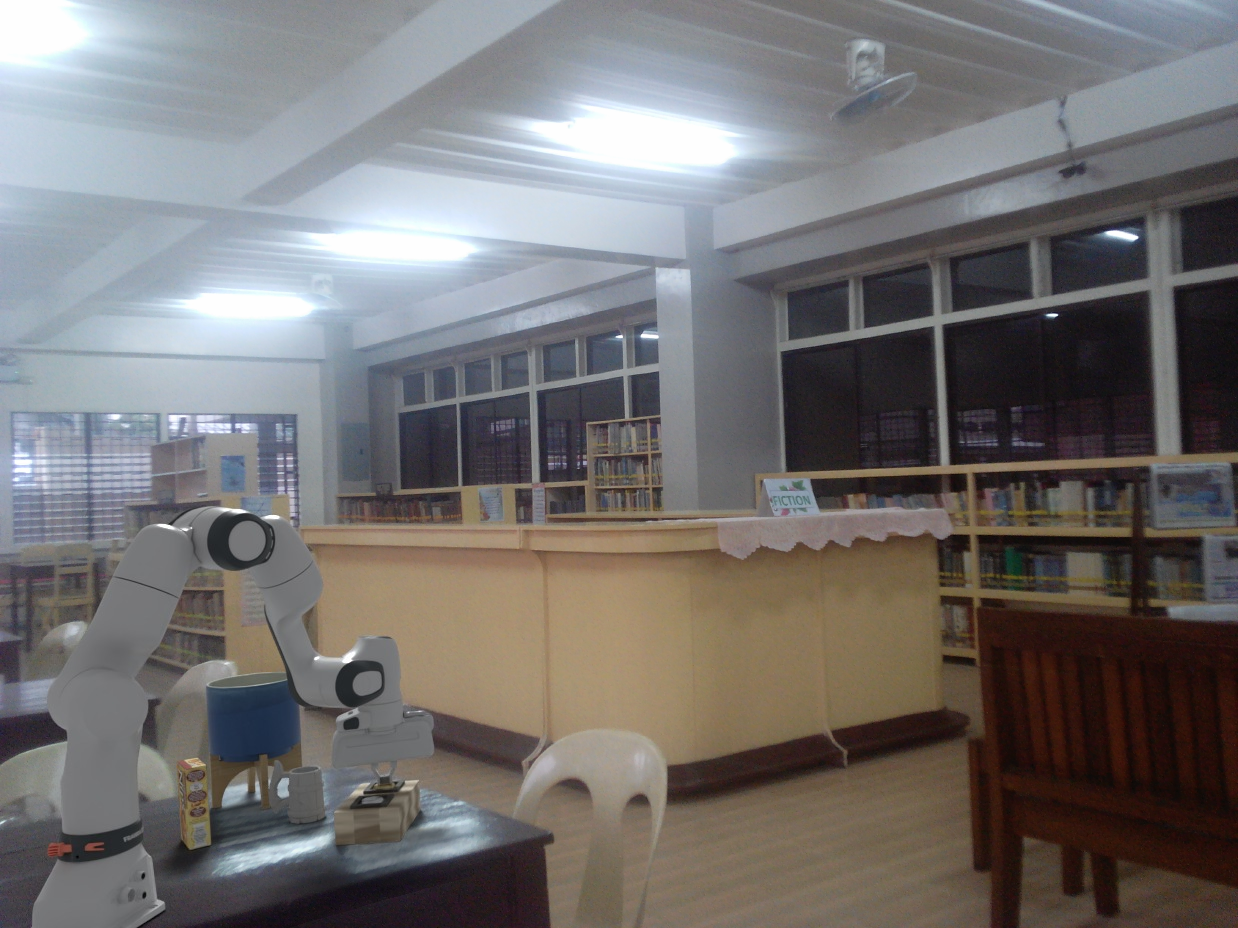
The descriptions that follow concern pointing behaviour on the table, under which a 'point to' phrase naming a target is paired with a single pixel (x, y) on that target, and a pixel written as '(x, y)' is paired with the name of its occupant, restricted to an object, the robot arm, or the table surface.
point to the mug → (299, 793)
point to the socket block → (377, 813)
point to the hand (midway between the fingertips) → (384, 784)
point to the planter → (251, 730)
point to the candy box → (193, 803)
